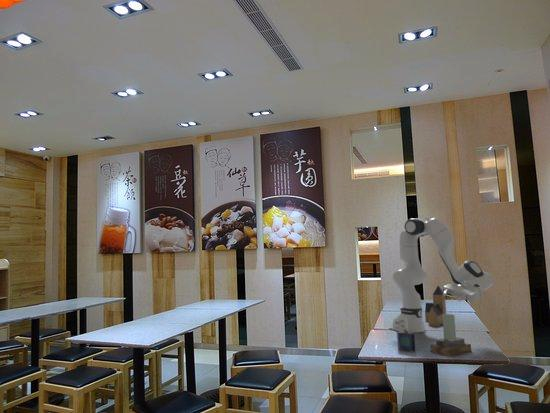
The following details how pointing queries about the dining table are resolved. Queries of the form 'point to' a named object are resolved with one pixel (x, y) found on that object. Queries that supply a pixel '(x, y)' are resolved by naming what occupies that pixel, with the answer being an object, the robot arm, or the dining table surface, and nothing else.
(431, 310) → the toy building blocks
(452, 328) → the sage column
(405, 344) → the flask
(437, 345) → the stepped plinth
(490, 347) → the dining table surface
